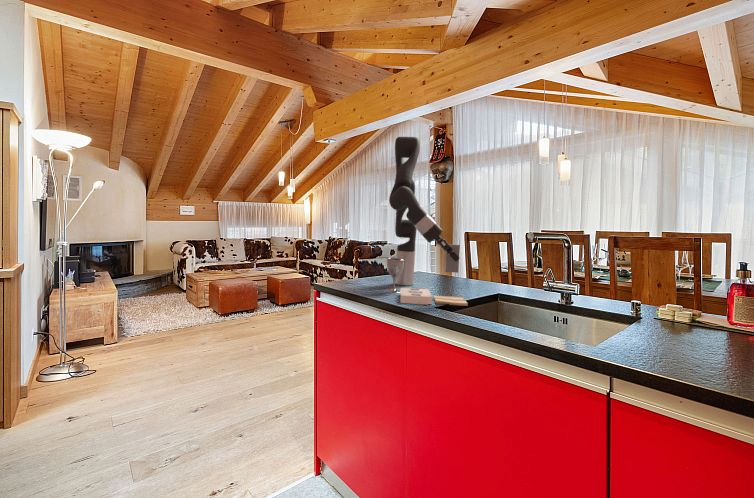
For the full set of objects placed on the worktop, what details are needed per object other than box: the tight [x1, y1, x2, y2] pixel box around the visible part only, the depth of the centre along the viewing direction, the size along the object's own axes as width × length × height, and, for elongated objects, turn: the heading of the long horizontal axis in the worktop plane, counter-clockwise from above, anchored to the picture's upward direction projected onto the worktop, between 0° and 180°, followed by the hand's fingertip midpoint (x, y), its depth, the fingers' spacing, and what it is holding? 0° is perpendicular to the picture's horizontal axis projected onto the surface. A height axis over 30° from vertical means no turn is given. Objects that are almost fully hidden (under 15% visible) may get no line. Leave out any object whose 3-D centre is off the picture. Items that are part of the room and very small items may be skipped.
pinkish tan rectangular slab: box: [400, 287, 433, 306], centre depth 153 cm, size 18×12×3 cm, turn 176°
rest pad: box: [433, 295, 469, 307], centre depth 151 cm, size 13×12×1 cm
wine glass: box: [386, 257, 404, 294], centre depth 169 cm, size 8×8×15 cm
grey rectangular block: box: [444, 243, 461, 274], centre depth 150 cm, size 4×5×11 cm
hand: (456, 259), depth 150 cm, fingers closed on grey rectangular block, 4 cm apart
